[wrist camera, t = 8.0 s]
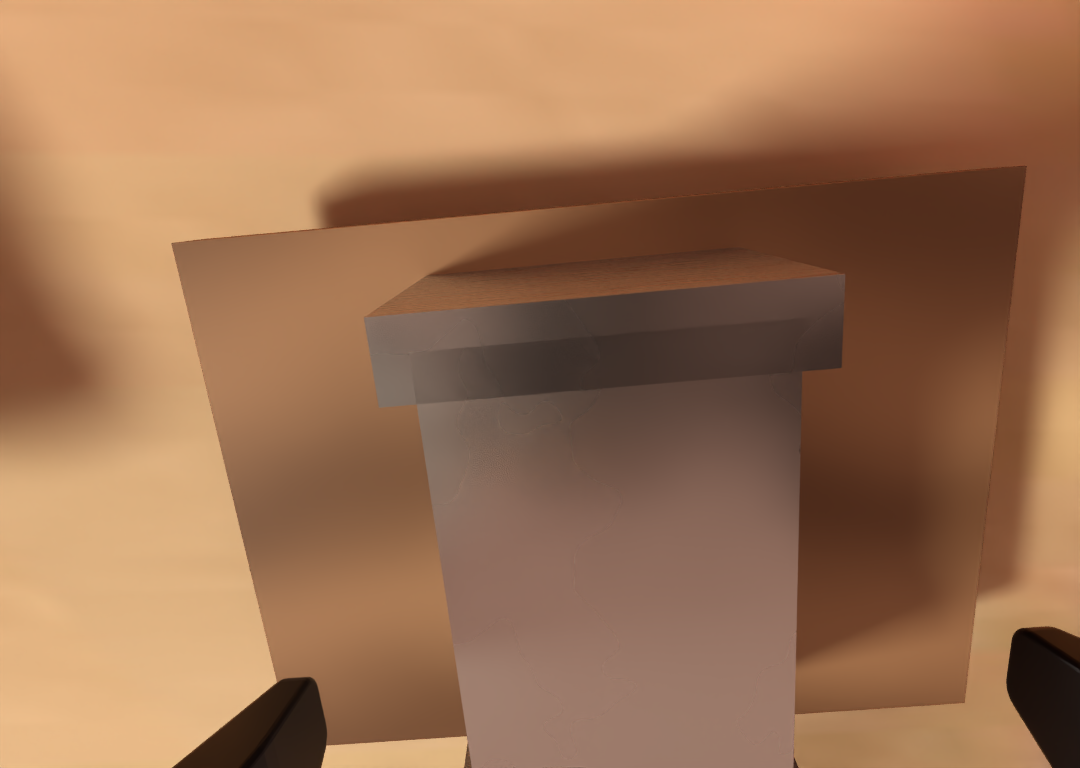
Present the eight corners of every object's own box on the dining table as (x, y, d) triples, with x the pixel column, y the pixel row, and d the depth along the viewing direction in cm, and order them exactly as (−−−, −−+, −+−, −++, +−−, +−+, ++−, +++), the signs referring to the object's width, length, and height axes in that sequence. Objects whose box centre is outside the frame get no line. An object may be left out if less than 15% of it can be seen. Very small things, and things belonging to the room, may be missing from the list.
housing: (741, 683, 15) (821, 879, 11) (485, 701, 15) (462, 901, 11) (739, 247, 12) (845, 274, 8) (425, 275, 12) (363, 317, 8)
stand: (896, 621, 18) (964, 703, 15) (332, 661, 18) (292, 747, 16) (932, 172, 15) (1026, 165, 12) (241, 234, 15) (171, 242, 12)
